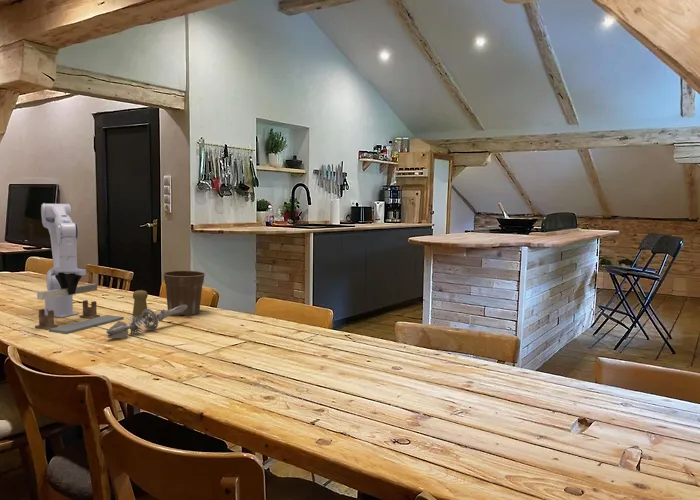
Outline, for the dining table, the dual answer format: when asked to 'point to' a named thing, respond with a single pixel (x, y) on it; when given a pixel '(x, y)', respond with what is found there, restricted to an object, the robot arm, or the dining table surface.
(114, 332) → the spaceship
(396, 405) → the dining table surface
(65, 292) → the steel rail
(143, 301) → the cork
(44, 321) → the cradle rack
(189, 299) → the plant pot
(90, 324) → the long grey plate
